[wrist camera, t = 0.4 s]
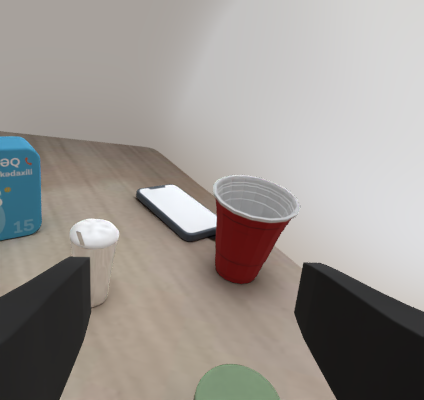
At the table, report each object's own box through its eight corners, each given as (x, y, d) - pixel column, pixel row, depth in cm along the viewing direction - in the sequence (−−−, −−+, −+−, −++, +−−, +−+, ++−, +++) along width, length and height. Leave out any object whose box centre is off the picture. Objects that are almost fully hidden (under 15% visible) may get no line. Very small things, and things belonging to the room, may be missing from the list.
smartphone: (228, 232, 55) (173, 190, 65) (230, 224, 54) (174, 183, 64) (185, 245, 49) (132, 196, 59) (187, 236, 48) (133, 188, 58)
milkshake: (54, 310, 33) (53, 224, 29) (83, 278, 38) (86, 201, 34) (96, 323, 33) (102, 238, 29) (120, 289, 38) (128, 212, 34)
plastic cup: (187, 284, 41) (205, 197, 36) (205, 240, 50) (221, 167, 45) (273, 309, 40) (304, 223, 35) (274, 260, 49) (299, 187, 44)
